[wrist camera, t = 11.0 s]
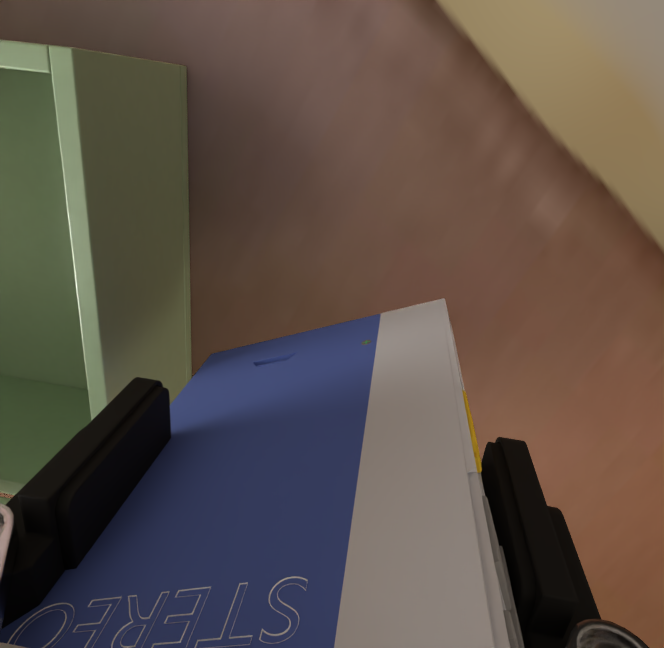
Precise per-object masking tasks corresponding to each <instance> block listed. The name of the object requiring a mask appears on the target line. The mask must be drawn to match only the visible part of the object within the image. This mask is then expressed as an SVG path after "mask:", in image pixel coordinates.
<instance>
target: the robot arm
mask: <svg viewBox="0 0 664 648" xmlns="http://www.w3.org/2000/svg"><path fill="white" fill-rule="evenodd" d="M170 439H171V422H170V396H169V390H168V389H167V388H164V387H163V384H162V382H161V381H159V380H153V379H147V378H141V377H136V378H134V379H133V380H132V381H131V382H130V383H129V384H128V385H127V386H126V387H125V388H124V389H123V390H122V391H121V392H120V393H119V394H118V395H117V396H116V397H115V398H114V399H113V400H112V401H111V402H110V403H109V404H108V405H107V406H106V407H105V408H104V409H103V410H102V411H101V412H100V413H99V414H98V415H97V416H96V417H95V418H94V419H93V420H92V421H91V422H90V423H89V424H88V425H87V426H86V427H84V428H83V429H81V430H80V431H79V432H78V433H77V434H76V435H75V436H74V437H73V438H72V439H71V440H70V441H69V442H68V443H67V444H66V445H65V446H64V447H63V448H62V449H61V450H60V451H59V452H58V453H57V454H56V455H55V456H54V457H53V458H52V459H51V460H50V461H49V462H48V463H47V464H46V465H45V466H44V467H43V468H42V469H41V470H40V471H39V472H38V473H37V474H36V475H35V476H34V477H33V478H32V479H31V480H30V481H29V482H28V483H27V484H26V485H25V486H24V487H23V488H22V489H21V490H20V491H19V492H18V493H17V494H16V495H15V496H14V497H13V498H12V499H11V500H10V501H9V502H8V503H7V504H6V505H4V504H2V503H0V632H1V629H3V628H4V627H6V626H8V625H9V624H11V623H12V622H14V621H15V620H17V619H19V618H20V617H22V616H23V615H25V614H26V613H28V612H29V611H31V610H33V609H34V608H36V607H37V606H39V605H40V604H41V602H42V601H43V600H44V598H45V597H46V596H47V594H48V593H49V592H50V590H51V589H52V588H53V586H54V585H55V584H56V582H57V581H58V580H59V578H60V577H61V576H62V574H63V573H64V572H65V570H70V569H76V568H77V567H78V565H79V564H80V563H81V561H82V560H83V559H84V557H85V556H86V554H87V553H88V552H89V550H90V549H91V548H92V546H93V545H94V543H95V542H96V541H97V539H98V538H99V537H100V535H101V534H102V532H103V531H104V530H105V528H106V527H107V526H108V524H109V523H110V521H111V520H112V519H113V517H114V516H115V514H116V513H117V512H118V510H119V509H120V508H121V506H122V505H123V503H124V502H125V501H126V499H127V498H128V497H129V495H130V494H131V492H132V491H133V490H134V488H135V487H136V486H137V484H138V483H139V481H140V480H141V479H142V477H143V476H144V475H145V473H146V472H147V470H148V469H149V468H150V466H151V465H152V464H153V462H154V461H155V459H156V458H157V457H158V455H159V454H160V453H161V451H162V450H163V448H164V447H165V446H166V444H167V443H168V442H169V440H170ZM481 463H482V464H481V467H482V471H481V477H482V482H483V487H484V492H485V496H486V497H487V499H488V503H489V507H490V511H491V515H492V519H493V523H494V527H495V531H496V535H497V539H498V544H499V546H502V547H503V551H504V555H505V559H506V564H507V568H508V573H509V578H510V582H511V587H512V592H513V597H514V601H515V606H516V611H517V615H518V619H519V624H520V628H521V633H522V638H523V642H524V647H525V648H649V647H648V646H647V645H646V644H645V643H644V642H643V641H642V640H641V639H640V638H638V637H637V636H636V635H634V634H633V633H631V632H630V631H628V630H627V629H626V628H623V627H621V626H619V625H617V624H615V623H613V622H610V621H605V620H601V617H600V615H599V612H598V609H597V606H596V604H595V601H594V598H593V596H592V593H591V590H590V587H589V585H588V582H587V579H586V576H585V574H584V571H583V568H582V565H581V563H580V560H579V557H578V554H577V552H576V549H575V546H574V543H573V541H572V538H571V535H570V533H569V530H568V527H567V524H566V522H565V519H564V516H563V514H562V512H561V511H560V510H559V509H558V508H555V507H550V506H547V504H546V501H545V498H544V495H543V492H542V489H541V486H540V483H539V480H538V477H537V474H536V471H535V468H534V465H533V462H532V459H531V456H530V453H529V450H528V447H527V445H526V443H525V442H524V441H521V440H515V439H508V438H502V437H498V438H497V440H496V442H495V443H493V442H488V443H487V445H486V448H485V452H484V455H483V459H482V462H481ZM0 648H27V647H22V646H17V645H12V644H7V643H1V642H0Z"/></svg>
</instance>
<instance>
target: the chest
mask: <svg viewBox="0 0 664 648" xmlns="http://www.w3.org/2000/svg"><path fill="white" fill-rule="evenodd" d="M136 377H141V378H147V379H153V380H159V381H161V382H162V384H163V387H164V388H167V389H168V390H169V396H170V404H171V403H172V402H173V401H174V399H175V398H176V397H177V396H178V395H179V393H180V392H181V391H182V390H183V388H184V387H185V386H186V385H187V383H188V382H189V381H190V380H191V378H192V368H191V307H190V246H189V185H188V124H187V68H186V66H185V65H179V64H173V63H167V62H160V61H154V60H148V59H142V58H136V57H130V56H123V55H117V54H111V53H105V52H99V51H93V50H86V49H80V48H74V47H66V46H57V45H47V44H38V43H29V42H19V41H10V40H0V492H1V493H7V494H12V495H16V494H17V493H18V492H19V491H20V490H21V489H22V488H23V487H24V486H25V485H26V484H27V483H28V482H29V481H30V480H31V479H32V478H33V477H34V476H35V475H36V474H37V473H38V472H39V471H40V470H41V469H42V468H43V467H44V466H45V465H46V464H47V463H48V462H49V461H50V460H51V459H52V458H53V457H54V456H55V455H56V454H57V453H58V452H59V451H60V450H61V449H62V448H63V447H64V446H65V445H66V444H67V443H68V442H69V441H70V440H71V439H72V438H73V437H74V436H75V435H76V434H77V433H78V432H79V431H80V430H81V429H83V428H84V427H86V426H87V425H88V424H89V423H90V422H91V421H92V420H93V419H94V418H95V417H96V416H97V415H98V414H99V413H100V412H101V411H102V410H103V409H104V408H105V407H106V406H107V405H108V404H109V403H110V402H111V401H112V400H113V399H114V398H115V397H116V396H117V395H118V394H119V393H120V392H121V391H122V390H123V389H124V388H125V387H126V386H127V385H128V384H129V383H130V382H131V381H132V380H133V379H134V378H136Z"/></svg>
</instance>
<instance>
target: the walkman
mask: <svg viewBox="0 0 664 648" xmlns="http://www.w3.org/2000/svg"><path fill="white" fill-rule="evenodd" d="M170 422H171V439H170V440H169V442H168V443H167V444H166V446H165V447H164V448H163V450H162V451H161V453H160V454H159V455H158V457H157V458H156V459H155V461H154V462H153V464H152V465H151V466H150V468H149V469H148V470H147V472H146V473H145V475H144V476H143V477H142V479H141V480H140V481H139V483H138V484H137V486H136V487H135V488H134V490H133V491H132V492H131V494H130V495H129V497H128V498H127V499H126V501H125V502H124V503H123V505H122V506H121V508H120V509H119V510H118V512H117V513H116V514H115V516H114V517H113V519H112V520H111V521H110V523H109V524H108V526H107V527H106V528H105V530H104V531H103V532H102V534H101V535H100V537H99V538H98V539H97V541H96V542H95V543H94V545H93V546H92V548H91V549H90V550H89V552H88V553H87V554H86V556H85V557H84V559H83V560H82V561H81V563H80V564H79V565H78V567H77V568H76V569H70V570H65V572H64V573H63V574H62V576H61V577H60V578H59V580H58V581H57V582H56V584H55V585H54V586H53V588H52V589H51V590H50V592H49V593H48V594H47V596H46V597H45V598H44V600H43V601H42V602H41V604H40V605H39V606H37V607H36V608H34V609H33V610H31V611H29V612H28V613H26V614H25V615H23V616H22V617H20V618H19V619H17V620H15V621H14V622H12V623H11V624H9V625H8V626H6V627H4V628H3V629H1V632H0V642H1V643H7V644H12V645H17V646H22V647H27V648H525V647H524V642H523V638H522V633H521V628H520V624H519V619H518V615H517V611H516V606H515V601H514V597H513V592H512V587H511V582H510V578H509V573H508V568H507V564H506V559H505V555H504V551H503V547H502V546H499V544H498V539H497V535H496V531H495V527H494V523H493V519H492V515H491V511H490V507H489V503H488V499H487V497H486V496H485V492H484V487H483V482H482V477H481V471H482V467H481V464H482V463H481V459H480V455H479V450H478V445H477V440H476V435H475V430H474V425H473V420H472V416H471V412H470V409H469V404H468V400H467V396H466V392H465V390H464V385H463V380H462V375H461V370H460V364H459V359H458V354H457V349H456V344H455V339H454V335H453V331H452V326H451V322H450V318H449V314H448V310H447V306H446V302H445V298H443V299H439V300H435V301H431V302H426V303H422V304H418V305H414V306H409V307H405V308H401V309H397V310H392V311H388V312H384V313H381V314H377V315H373V316H369V317H364V318H360V319H356V320H352V321H348V322H343V323H339V324H335V325H331V326H327V327H322V328H318V329H314V330H310V331H306V332H301V333H297V334H293V335H289V336H285V337H280V338H276V339H272V340H268V341H264V342H259V343H255V344H251V345H247V346H243V347H238V348H234V349H230V350H226V351H222V352H217V353H213V354H211V355H210V356H209V357H208V359H207V360H206V361H205V362H204V364H203V365H202V366H201V367H200V369H199V370H198V371H197V372H196V374H195V375H194V376H193V377H192V378H191V380H190V381H189V382H188V383H187V385H186V386H185V387H184V388H183V390H182V391H181V392H180V393H179V395H178V396H177V397H176V398H175V399H174V401H173V402H172V403H171V404H170Z"/></svg>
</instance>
